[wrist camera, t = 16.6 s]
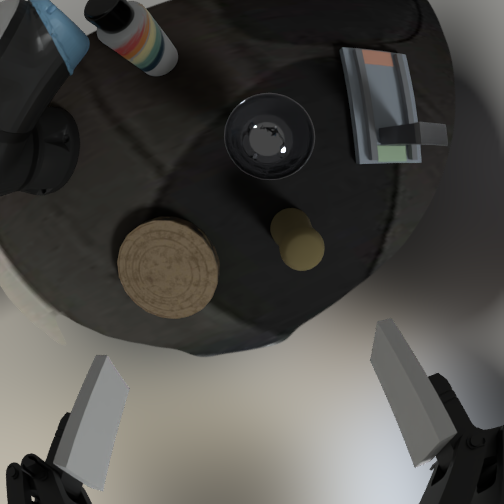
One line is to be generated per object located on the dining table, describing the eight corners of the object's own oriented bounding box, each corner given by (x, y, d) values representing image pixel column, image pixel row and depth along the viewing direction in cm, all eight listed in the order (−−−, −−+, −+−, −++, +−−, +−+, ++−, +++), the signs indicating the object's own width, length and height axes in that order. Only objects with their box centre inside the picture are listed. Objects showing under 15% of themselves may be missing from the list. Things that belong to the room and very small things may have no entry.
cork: (292, 199, 40) (307, 214, 29) (319, 228, 41) (341, 253, 31) (261, 227, 41) (265, 252, 31) (289, 255, 42) (301, 288, 32)
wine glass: (272, 182, 39) (286, 196, 25) (223, 154, 37) (207, 152, 23) (301, 134, 37) (330, 122, 22) (251, 106, 35) (252, 77, 21)
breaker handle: (403, 145, 35) (447, 145, 25) (380, 144, 35) (421, 143, 25) (401, 128, 34) (445, 124, 24) (378, 128, 34) (419, 121, 24)
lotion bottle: (136, 61, 32) (64, 11, 13) (165, 38, 31) (112, -28, 12) (155, 84, 34) (86, 38, 15) (186, 60, 33) (138, -6, 14)
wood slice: (191, 197, 40) (186, 200, 37) (237, 289, 45) (236, 298, 42) (108, 241, 42) (100, 247, 39) (155, 320, 47) (150, 330, 44)
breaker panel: (416, 162, 37) (425, 163, 35) (356, 163, 38) (363, 164, 35) (401, 57, 32) (409, 52, 29) (339, 50, 32) (344, 44, 29)
